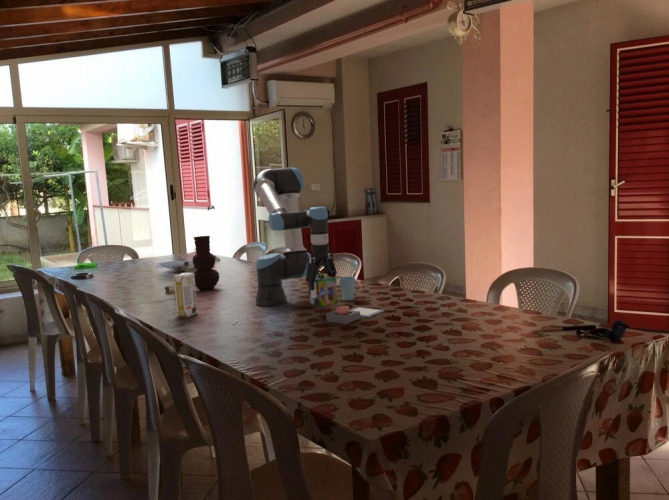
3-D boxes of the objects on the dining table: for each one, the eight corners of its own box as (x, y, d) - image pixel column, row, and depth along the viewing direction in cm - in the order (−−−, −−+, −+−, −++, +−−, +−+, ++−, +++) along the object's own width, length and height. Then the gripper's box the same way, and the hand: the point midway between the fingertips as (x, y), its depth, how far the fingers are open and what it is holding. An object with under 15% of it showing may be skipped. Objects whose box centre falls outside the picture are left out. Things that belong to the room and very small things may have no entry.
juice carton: (200, 312, 265) (196, 272, 262) (188, 317, 257) (184, 275, 254) (187, 312, 268) (183, 272, 265) (174, 316, 260) (171, 275, 258)
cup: (359, 299, 273) (357, 278, 272) (344, 301, 270) (343, 280, 269) (352, 296, 280) (350, 275, 279) (337, 299, 277) (336, 278, 276)
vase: (226, 288, 321) (221, 235, 317) (206, 293, 308) (201, 238, 305) (206, 286, 330) (201, 234, 326) (186, 292, 317) (181, 238, 313)
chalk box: (337, 303, 245) (336, 269, 242) (319, 307, 240) (317, 272, 238) (326, 299, 252) (325, 266, 250) (308, 303, 248) (306, 269, 245)
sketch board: (342, 313, 248) (341, 312, 247) (358, 307, 257) (358, 306, 257) (368, 317, 239) (368, 316, 239) (384, 311, 248) (384, 310, 248)
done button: (334, 314, 236) (333, 307, 236) (342, 311, 240) (341, 305, 240) (344, 316, 233) (343, 309, 233) (351, 313, 237) (351, 306, 237)
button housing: (326, 321, 236) (326, 314, 236) (341, 315, 244) (341, 309, 244) (345, 324, 230) (345, 317, 230) (360, 318, 238) (359, 311, 237)
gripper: (308, 248, 231) (311, 301, 234) (343, 240, 248) (345, 289, 252) (294, 247, 235) (297, 299, 239) (330, 239, 253) (332, 288, 257)
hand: (322, 294), depth 245 cm, fingers closed on chalk box, 10 cm apart
